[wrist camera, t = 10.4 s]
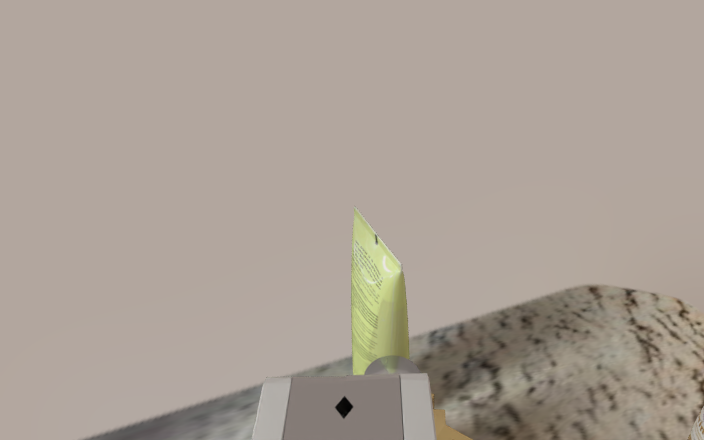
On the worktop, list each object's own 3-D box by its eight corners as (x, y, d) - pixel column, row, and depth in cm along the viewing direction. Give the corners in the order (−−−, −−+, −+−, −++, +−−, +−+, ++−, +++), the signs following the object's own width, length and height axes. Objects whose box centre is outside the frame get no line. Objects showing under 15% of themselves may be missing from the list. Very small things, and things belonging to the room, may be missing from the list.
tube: (425, 397, 47) (427, 220, 36) (405, 444, 43) (401, 263, 32) (368, 377, 49) (354, 205, 38) (344, 421, 45) (321, 244, 34)
